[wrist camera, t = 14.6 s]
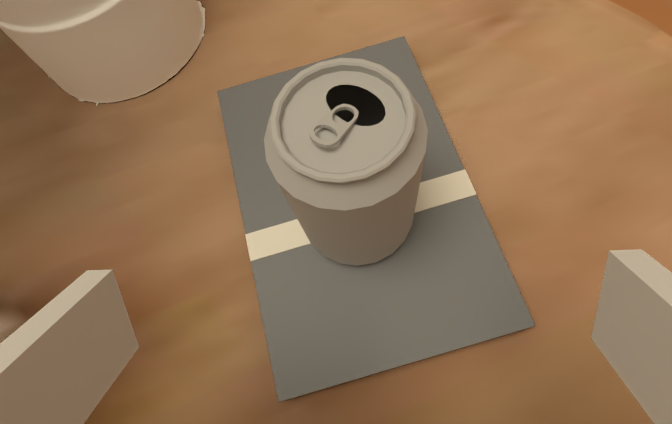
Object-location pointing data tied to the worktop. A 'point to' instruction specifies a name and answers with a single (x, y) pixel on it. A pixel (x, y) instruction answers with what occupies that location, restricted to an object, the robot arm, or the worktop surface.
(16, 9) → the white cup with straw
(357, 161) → the can
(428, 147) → the board
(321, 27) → the worktop surface
